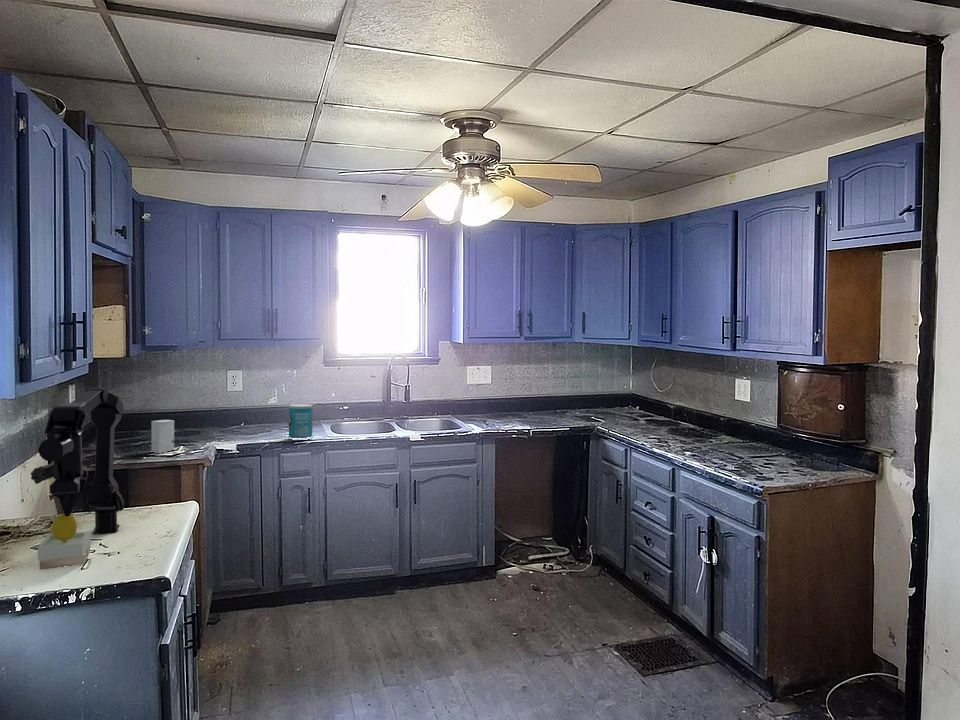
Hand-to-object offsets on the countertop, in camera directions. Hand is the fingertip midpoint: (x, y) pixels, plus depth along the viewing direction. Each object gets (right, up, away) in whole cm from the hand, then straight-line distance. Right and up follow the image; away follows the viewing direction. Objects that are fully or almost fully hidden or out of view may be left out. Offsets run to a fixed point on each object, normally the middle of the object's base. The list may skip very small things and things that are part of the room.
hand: (70, 511), depth 180 cm
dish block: (-1, -10, -1) cm, 10 cm away
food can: (+14, -2, +178) cm, 178 cm away
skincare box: (-40, -3, +138) cm, 143 cm away
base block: (-1, -13, -1) cm, 13 cm away
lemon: (-1, -8, -1) cm, 8 cm away
